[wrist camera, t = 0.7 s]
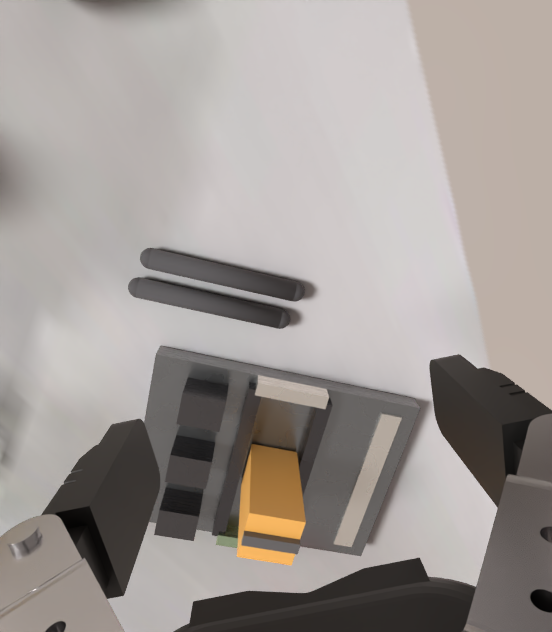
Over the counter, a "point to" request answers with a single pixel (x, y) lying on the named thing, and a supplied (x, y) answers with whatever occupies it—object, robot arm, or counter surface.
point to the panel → (271, 431)
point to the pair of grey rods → (217, 276)
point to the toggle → (270, 506)
